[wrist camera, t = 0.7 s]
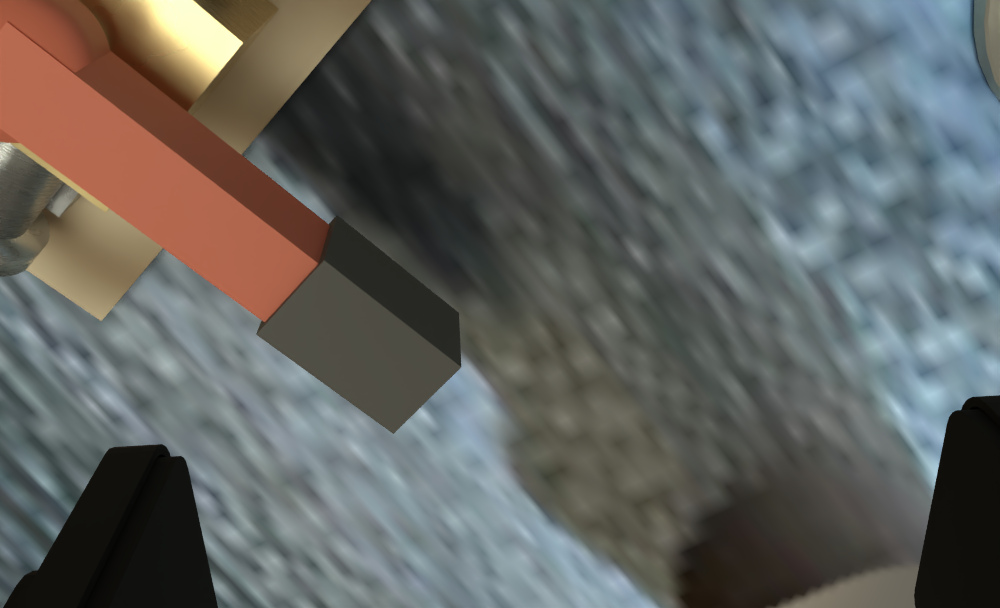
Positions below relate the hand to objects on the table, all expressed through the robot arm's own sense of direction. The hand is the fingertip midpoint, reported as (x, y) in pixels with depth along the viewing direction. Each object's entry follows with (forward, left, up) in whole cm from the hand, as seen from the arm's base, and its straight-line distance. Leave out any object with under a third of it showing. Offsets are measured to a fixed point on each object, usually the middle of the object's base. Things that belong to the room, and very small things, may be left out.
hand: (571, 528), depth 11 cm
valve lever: (+7, -4, -19) cm, 21 cm away
